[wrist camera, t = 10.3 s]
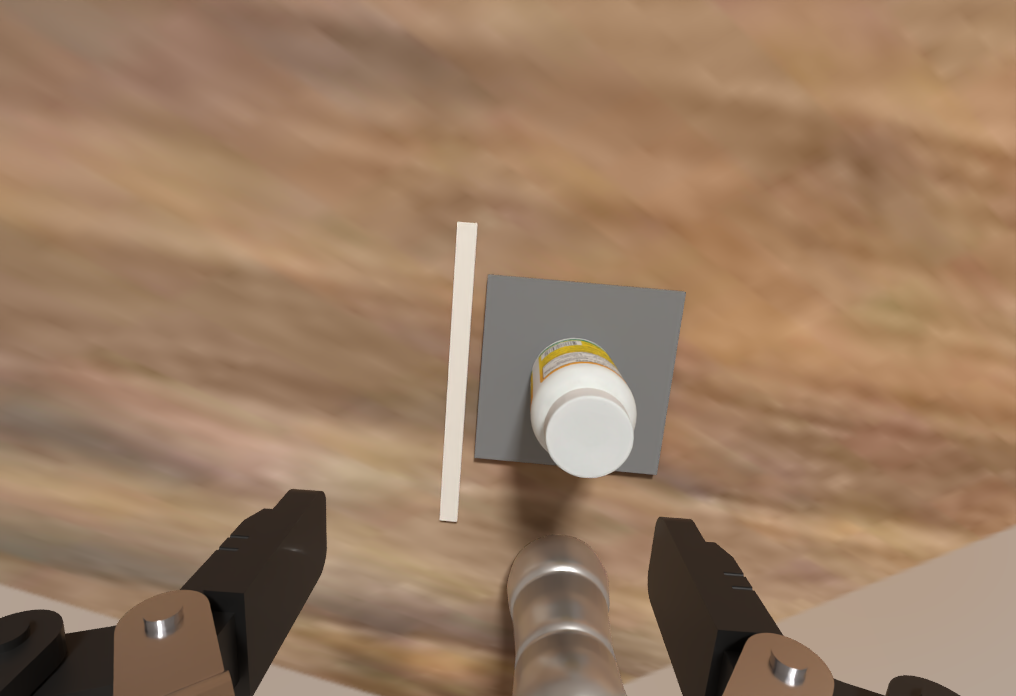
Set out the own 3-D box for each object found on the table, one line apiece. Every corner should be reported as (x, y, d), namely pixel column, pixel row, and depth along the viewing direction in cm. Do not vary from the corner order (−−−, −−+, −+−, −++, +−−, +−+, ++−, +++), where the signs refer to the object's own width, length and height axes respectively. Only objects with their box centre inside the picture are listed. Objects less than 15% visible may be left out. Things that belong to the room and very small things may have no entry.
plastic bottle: (490, 551, 36) (445, 928, 16) (571, 504, 35) (627, 846, 15) (540, 618, 37) (554, 1048, 17) (621, 574, 36) (732, 977, 16)
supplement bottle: (555, 321, 32) (566, 358, 22) (631, 360, 32) (673, 413, 23) (515, 395, 33) (509, 460, 23) (588, 432, 33) (612, 511, 24)
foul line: (458, 221, 31) (457, 221, 31) (477, 223, 31) (477, 223, 31) (440, 517, 36) (439, 520, 35) (457, 519, 35) (456, 521, 35)
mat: (488, 274, 32) (488, 275, 31) (682, 291, 32) (685, 292, 31) (475, 453, 34) (474, 457, 34) (654, 470, 34) (656, 474, 34)
